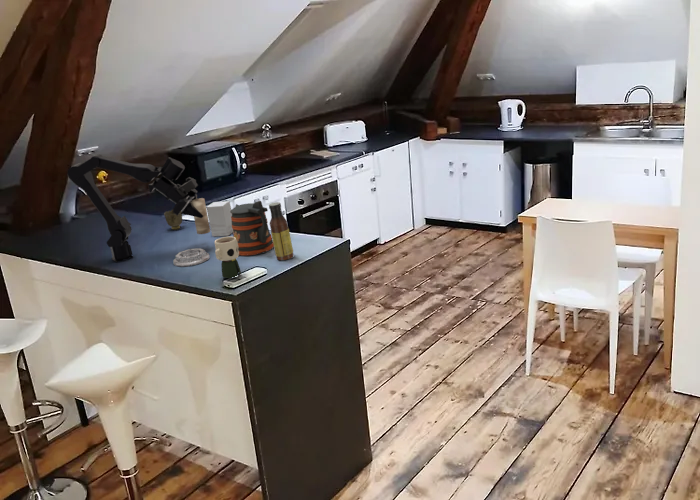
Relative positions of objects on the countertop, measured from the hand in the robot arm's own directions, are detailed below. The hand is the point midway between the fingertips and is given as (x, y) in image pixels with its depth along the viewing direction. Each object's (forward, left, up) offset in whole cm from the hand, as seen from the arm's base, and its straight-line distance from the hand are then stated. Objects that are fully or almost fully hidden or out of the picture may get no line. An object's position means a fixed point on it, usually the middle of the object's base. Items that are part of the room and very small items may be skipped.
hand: (204, 215), depth 256 cm
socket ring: (-11, -7, -13) cm, 18 cm away
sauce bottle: (+12, -35, -14) cm, 39 cm away
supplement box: (+12, +14, -14) cm, 23 cm away
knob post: (-1, +1, -7) cm, 7 cm away
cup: (+2, +40, -14) cm, 43 cm away
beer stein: (+10, -19, -14) cm, 25 cm away
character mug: (-9, -36, -14) cm, 39 cm away
